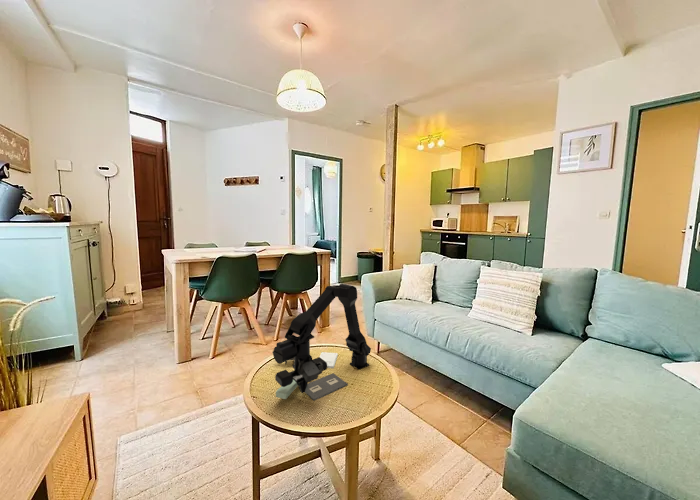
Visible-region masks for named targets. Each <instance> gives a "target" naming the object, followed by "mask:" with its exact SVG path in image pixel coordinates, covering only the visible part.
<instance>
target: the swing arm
mask: <svg viewBox="0 0 700 500" xmlns="http://www.w3.org/2000/svg"><path fill="white" fill-rule="evenodd" d="M296 388H298V385H297V382H295V381H294V380H293V382H292V383H291V384H290V385H288V386H285V387H282V386H281V385H280V387H279V388H278V389H277V390H276V391H275V398H278V399H283V400H287V399H288V397H289V396H290V395H291V394H292V393H293V392H294V390H296Z"/></svg>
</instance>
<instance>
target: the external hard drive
mask: <svg viewBox="0 0 700 500" xmlns="http://www.w3.org/2000/svg"><path fill="white" fill-rule="evenodd" d="M338 356H339V353H337V352H326V351H324V352H323V351H321V353H320V355H319V357H320V358H321V359H323V360H324V361H325V362H326V363H327V369H335V365H336V362H337V359H338Z"/></svg>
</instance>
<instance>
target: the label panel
mask: <svg viewBox="0 0 700 500" xmlns="http://www.w3.org/2000/svg"><path fill="white" fill-rule="evenodd" d="M347 386H349V383H348V382H346V381H345V380H343V379H342V378H341V377H339V376H338V375H337V374H335V373H329V374H327V375H325V376H322V377H320V378H318V379H316V380H313V381H311V382H308V384H307V386H306V389H305V392H304V393H305V394H306V395H307V397H309V398H310V399H311V400H312V401H313V402H314V401H317V400H319V399H321V398H323V397H326V396H327V395H331V394H332V393H334V392H337V391H338V390H341V389H343V388H345V387H347Z"/></svg>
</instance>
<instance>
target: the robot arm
mask: <svg viewBox="0 0 700 500" xmlns="http://www.w3.org/2000/svg"><path fill="white" fill-rule="evenodd" d="M335 298H337V299H338V300H339V302H340V303H341V305H343V309H344V315H345V319H346V321H345V322H346V324H347V331H348V335H347V337H346V338H345V339H344V340H345V345H346V347H348V350H349V351H351V362H349V365H350V366H352V367H354V368H355V369H357V370H361V369H364V368H366V367H369V366H370V363H369V362H368V356H369V355H370V353H371V351H372V347H370V346H369V345H368V344H367V340H366V338H365V335H363V333H362V332H361V328H360V322H359V318H358V314H357V313H358V312H357V306H356V302H357V300H358V289H357V287H356V286H354V285H350V284H347V283H340V284H339V285H336V284H335V285H334V284H333V285H326V287H325V288H324V291H323V292H322V293H321V294H320V295H319V296H318V298H317V299H315V301H314V302H313V303H312V304H311V305H310V306H309V308H308V309H306V310H305V311H303V312H301V313H299V314H298V315H297V316H296V317H294V318H293V319H292V321H291V322H290V325H289V327H288V329H287V331H286V333H285V334H284V339H285V340H283V341H279V342H276V343H275V344H276V346H274V348H273V351H272V352H273V353H272V355H273V359H274V360H275V362H276V363H277V364H278V365H280V364H283V363H285V361H287V360H288V361H290V359H292V358H294V360H293V364H292V369H293V370H291V371H288V370H287V369H283V370H280V371H278V372H276V373H275V376H274V378H275V379H274V380H275V381H276V383H278V384H279V386H280V387H281V386H282V387H285V386H288V385H290V384H291V383H292V382H293V380H294V381H295V382H297V385H298V386H297V388H298V389H299V390H300V393H301V394H304V393H305V389H306V386H307V384H308V383H310V382H313V381H315V380H318V379H319V376H320V375H321V374H323V371H326V370H328V368H327V363H326V362H325V361H324V360H323V359H321V358H320V356H318V357H316V358H313V356H312V355H311V353H310V352H311V351H310V350H311V346H310V345H311V343H310V342H311V340H312V339H313V340H314V338H315V336H314V335H313V334H312V333H313V331H314V329H315V327H316V326H317V325H316V324H317V321H318V319H319V317H320V316H321V315H322V314H323V313H324V312H325V311H326V309H328V307H329V306H330V304H331V303H332V302H333V301H334V300H335ZM288 361H287V362H288Z"/></svg>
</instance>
